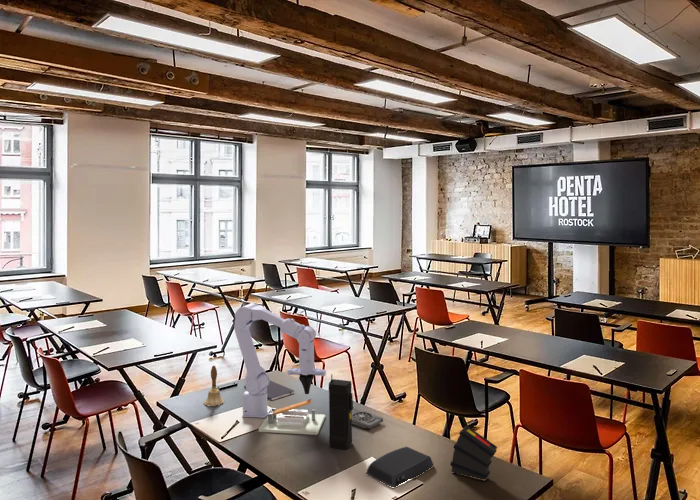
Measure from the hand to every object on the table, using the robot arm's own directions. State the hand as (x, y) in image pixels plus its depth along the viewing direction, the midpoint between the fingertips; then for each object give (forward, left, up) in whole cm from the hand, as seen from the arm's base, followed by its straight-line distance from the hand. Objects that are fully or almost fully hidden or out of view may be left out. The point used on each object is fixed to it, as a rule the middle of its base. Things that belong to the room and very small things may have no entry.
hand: (307, 393), depth 205 cm
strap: (-5, -5, -5) cm, 9 cm away
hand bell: (-43, +12, -11) cm, 45 cm away
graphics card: (+20, 0, -11) cm, 23 cm away
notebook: (-24, +29, -11) cm, 39 cm away
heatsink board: (-5, -5, -10) cm, 12 cm away
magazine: (+59, -36, -11) cm, 70 cm away
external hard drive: (+37, -35, -11) cm, 52 cm away
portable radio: (+16, -20, -11) cm, 28 cm away
